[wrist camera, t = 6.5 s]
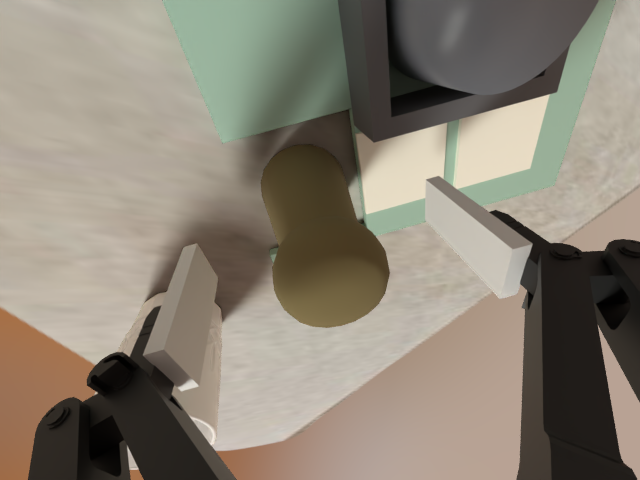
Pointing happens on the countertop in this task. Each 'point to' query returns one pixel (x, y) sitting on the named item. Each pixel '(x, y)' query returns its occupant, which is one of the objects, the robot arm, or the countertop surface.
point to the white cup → (205, 397)
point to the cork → (320, 241)
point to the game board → (382, 99)
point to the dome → (481, 40)
